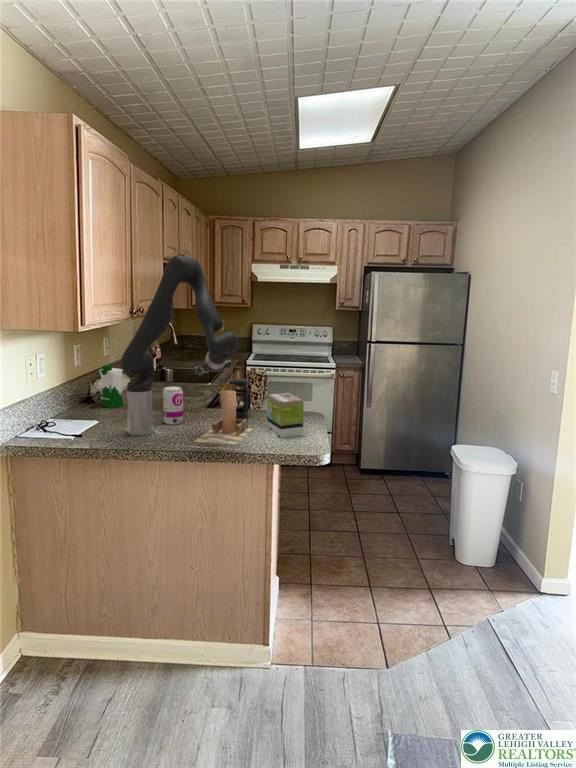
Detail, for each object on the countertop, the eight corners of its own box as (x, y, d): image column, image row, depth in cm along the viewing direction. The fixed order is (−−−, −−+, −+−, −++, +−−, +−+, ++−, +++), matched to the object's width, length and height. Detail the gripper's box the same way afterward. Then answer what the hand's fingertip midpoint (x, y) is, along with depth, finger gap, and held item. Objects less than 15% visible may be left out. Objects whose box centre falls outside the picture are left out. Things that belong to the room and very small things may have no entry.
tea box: (266, 429, 220) (266, 393, 218) (288, 426, 224) (288, 392, 222) (280, 438, 207) (280, 401, 204) (303, 436, 211) (304, 399, 208)
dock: (234, 447, 194) (234, 435, 193) (193, 444, 198) (193, 432, 197) (254, 430, 218) (254, 419, 217) (217, 427, 222) (217, 416, 221)
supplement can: (187, 422, 229) (186, 388, 227) (171, 425, 223) (170, 390, 221) (176, 419, 235) (175, 385, 232) (159, 422, 229) (158, 387, 226)
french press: (236, 421, 232) (236, 368, 228) (222, 417, 239) (221, 366, 234) (256, 416, 241) (256, 366, 236) (242, 413, 247) (242, 363, 243)
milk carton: (99, 406, 257) (97, 365, 254) (114, 403, 265) (112, 363, 261) (111, 409, 253) (109, 367, 249) (126, 405, 260) (124, 364, 257)
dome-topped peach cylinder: (233, 433, 209) (233, 393, 206) (219, 432, 210) (219, 392, 207) (240, 428, 217) (240, 389, 214) (227, 427, 218) (226, 388, 215)
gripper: (232, 346, 200) (225, 359, 215) (194, 353, 196) (190, 366, 211) (237, 365, 199) (229, 377, 214) (199, 372, 194) (194, 384, 209)
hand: (210, 371), depth 212 cm, fingers open, 8 cm apart
